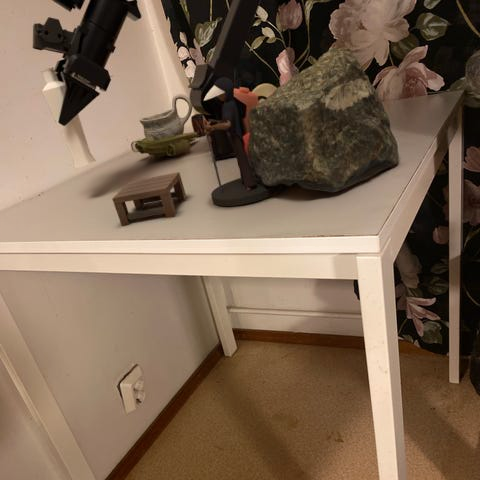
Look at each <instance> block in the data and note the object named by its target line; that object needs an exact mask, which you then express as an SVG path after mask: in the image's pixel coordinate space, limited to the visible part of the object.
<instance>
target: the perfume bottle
mask: <svg viewBox="0 0 480 480" xmlns="http://www.w3.org/2000/svg"><path fill="white" fill-rule="evenodd" d="M54 69H55V66H54V67H49V68H46V69H45V68H44V69H42V70H40V72H41V74H42V77H43V79H44V81H45V85H44V87H43V89H42V90H41V93H42V96H43V98H44V100H45V102H46V104H47V106H48V108H49V110H50V113H51V115H52V116H53V120H54V122H55V124H56V125H57V128H58V130H59V132H60V134H61V136H62V139H63V141H64V142H65V144H66V146H67V148H68V150H69V153H70V155H71V157H72V162H73V167H74V169H78V168H82V167H85V166H89V165H91V164H93V163H94V162H96V161H97V160H96V158H95V157H94V156H93V154H92V153H91V151H90V147H89V144H88V141H87V138H86V135H85V132H84V129H83V128H84V127H83V125H82V122H81V119H80V114H79V113H78V114H77V115H76V116H75V117H74V118H73V119H72V120H71V121H70V122H69V123H68V124H67V125H66V126H63V125H61V124H59V123H58V120H59V116H60V111H61V107H62V102H63V98H64V93H65V84H64V82H60V81H58V80H57V78H56V75H55V72H54Z"/></svg>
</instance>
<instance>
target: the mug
mask: <svg viewBox="0 0 480 480" xmlns="http://www.w3.org/2000/svg"><path fill="white" fill-rule="evenodd" d="M178 100H183V101H184V102H186V103H187V105H188V111H187V114H186V116H184V117H180V115H179V113H178V109H177V101H178ZM171 106H172V107H171V108H170V109H168V110H165V111H163V112H160V113H155V114H152V115H148V116H145V117H140V118H139V120H138V121H139V122H140V123H141V125H142V127H143V135H144V138H149V137H152V138H153V139H154V140H157V139H161V138H165V137H170V136H174V135H179V134H184V132H185V124H186V123H187V122H188V121H189V119H190V118H191V116H192V113H193V106H192V104H191V101H190V96H188V95H186V94H183V93H178V94H176V95H174V96H173V97H172V100H171Z"/></svg>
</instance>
